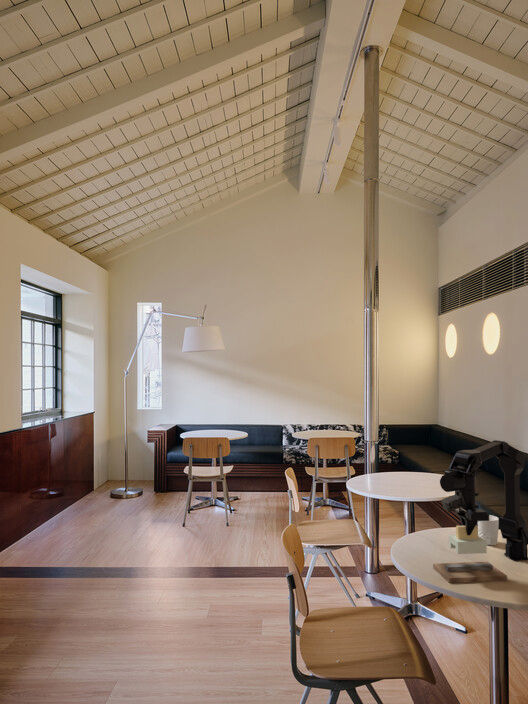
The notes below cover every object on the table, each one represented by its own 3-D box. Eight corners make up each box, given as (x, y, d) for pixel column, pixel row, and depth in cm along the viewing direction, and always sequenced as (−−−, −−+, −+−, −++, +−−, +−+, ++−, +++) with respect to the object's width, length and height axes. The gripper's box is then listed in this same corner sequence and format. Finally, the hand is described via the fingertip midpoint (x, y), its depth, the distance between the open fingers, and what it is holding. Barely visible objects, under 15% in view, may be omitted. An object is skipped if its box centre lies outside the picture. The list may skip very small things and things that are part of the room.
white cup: (473, 540, 201) (472, 515, 202) (489, 538, 204) (488, 513, 204) (487, 547, 194) (486, 521, 194) (503, 544, 196) (503, 519, 196)
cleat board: (487, 565, 176) (487, 557, 176) (507, 580, 164) (506, 571, 164) (433, 568, 174) (433, 559, 174) (449, 582, 162) (449, 573, 162)
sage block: (476, 545, 173) (475, 522, 174) (486, 553, 166) (486, 529, 167) (448, 546, 173) (448, 523, 173) (458, 554, 166) (457, 529, 166)
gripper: (432, 482, 179) (433, 526, 178) (457, 495, 160) (457, 544, 160) (462, 482, 180) (462, 525, 179) (489, 495, 161) (490, 543, 161)
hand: (467, 534), depth 170 cm, fingers closed on sage block
